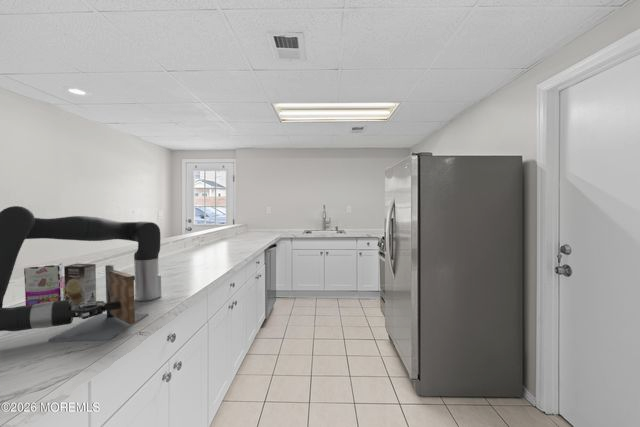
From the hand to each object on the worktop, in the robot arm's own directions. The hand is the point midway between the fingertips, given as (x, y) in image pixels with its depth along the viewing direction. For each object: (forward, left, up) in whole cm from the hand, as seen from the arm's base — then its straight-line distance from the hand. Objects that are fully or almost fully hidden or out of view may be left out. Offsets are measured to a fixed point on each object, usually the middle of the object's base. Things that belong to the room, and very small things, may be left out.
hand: (119, 305), depth 106 cm
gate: (-1, -1, -5) cm, 5 cm away
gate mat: (+3, -4, -7) cm, 9 cm away
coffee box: (-3, -41, -7) cm, 41 cm away
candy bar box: (+6, -51, -7) cm, 51 cm away
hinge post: (-2, -11, -7) cm, 13 cm away
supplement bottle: (-4, -59, -7) cm, 59 cm away
